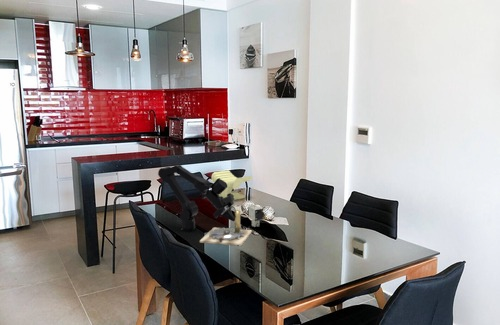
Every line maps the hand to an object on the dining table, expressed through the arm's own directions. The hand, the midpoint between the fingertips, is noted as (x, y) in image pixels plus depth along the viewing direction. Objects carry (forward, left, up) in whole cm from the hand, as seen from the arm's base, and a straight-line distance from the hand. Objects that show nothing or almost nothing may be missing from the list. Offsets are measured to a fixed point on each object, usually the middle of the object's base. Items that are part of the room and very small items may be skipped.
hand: (234, 220), depth 216 cm
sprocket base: (-3, -5, -8) cm, 10 cm away
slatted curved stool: (-25, +80, -8) cm, 84 cm away
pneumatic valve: (+8, +17, -8) cm, 21 cm away
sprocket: (-3, -5, -7) cm, 9 cm away
